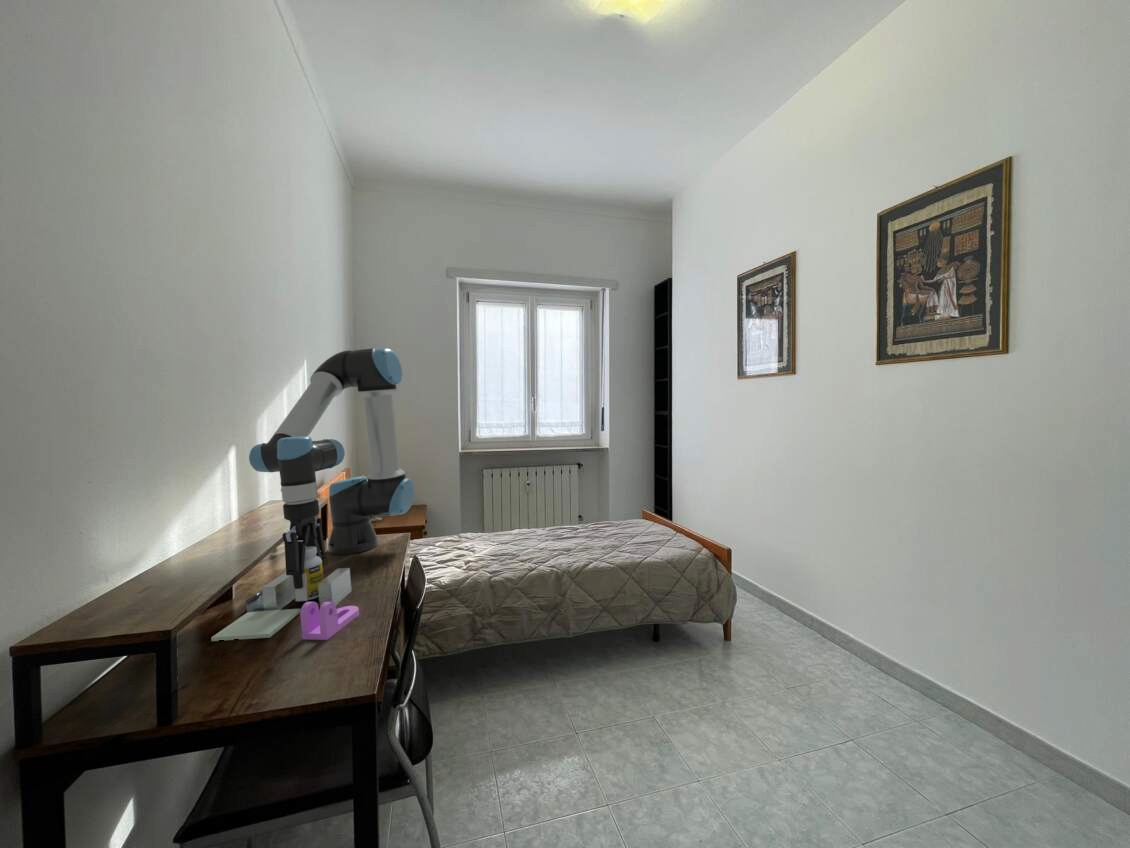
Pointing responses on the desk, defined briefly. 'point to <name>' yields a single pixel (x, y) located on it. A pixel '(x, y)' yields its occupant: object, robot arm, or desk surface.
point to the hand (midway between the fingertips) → (310, 593)
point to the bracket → (325, 619)
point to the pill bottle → (312, 571)
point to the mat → (256, 625)
